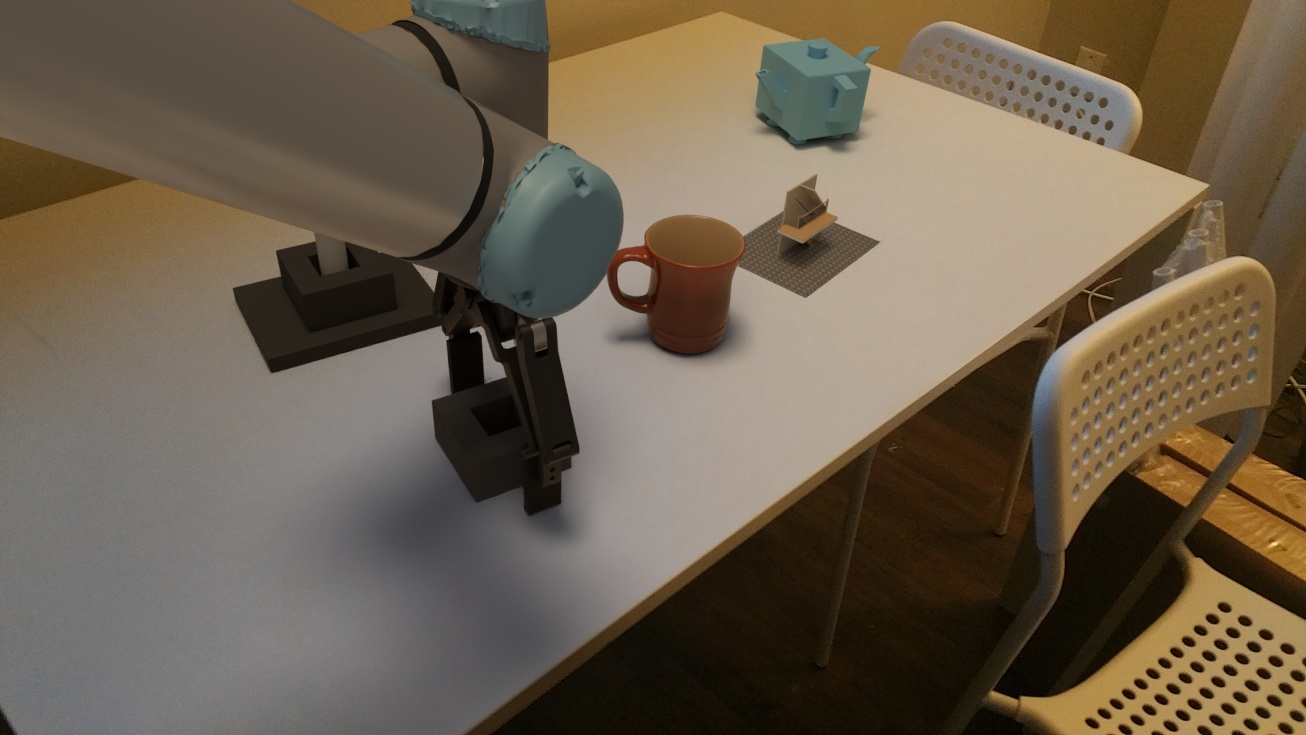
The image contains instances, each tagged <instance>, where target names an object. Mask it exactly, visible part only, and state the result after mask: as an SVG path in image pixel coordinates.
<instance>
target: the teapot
mask: <svg viewBox="0 0 1306 735" xmlns="http://www.w3.org/2000/svg"><path fill="white" fill-rule="evenodd" d="M880 49H881V46H878V45H872V46H871V45H870V46H867V47H864V48H862V49H861V51H859V53H857V54H856V56H855V57H854V56H852V55H851V54H849V53H848V52H846V51H845V50H844V49H841V48H840V47H838V46H837V45H835V44H834V43H832V42H831V41H829V40H828V39H826V38H824V37H822V38H814V39H805V40H804V39H803V40H795V41H786V42H778V43H770V44H769V43H768V44H764V45H763V46H762V54H761V60H760V69H759V71H756V72H755V77H756V79H757V80H758V83H757V90H756V97H755V104H754V105H755V107H756V109H757V110H759V111H760V112H761V113H762V114H764V115H765V116H766V117H767V118H768V119H767V121H766V124H767V125H768V126H771V127H780V128H781V129H783V131H785V132H786V133H787V134H789V137H788V142H789V143H791V144H794V145H804V144H806V143H807V140H811V139H817V138H823V137H826V138H830V139H833V140H835V139H837V140H839V139H840V138H842V137H843V134H849V133H855V132H859V131H860V124H861V120H862V115H863V111H864V106H865V101H866V96H867V91H868V86H869V82H870V76H871V72H872V69H871V68H870V67H869V66H868V65H867V62H868V61H869V59H871V57H872V55H873V54H876V52H878V51H879V50H880Z"/></svg>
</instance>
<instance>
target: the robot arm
mask: <svg viewBox="0 0 1306 735" xmlns="http://www.w3.org/2000/svg"><path fill="white" fill-rule="evenodd" d="M546 3H547V2H546V0H410V1H409V5H410V11H411V12H412V15H409V16H408V17H406V18H405V17H404V18H401V19H397V20H395V21H393V22H392V23H390V24H387V25H385V26H381V27H376V28H371V29H369V30H364V31H361V32H356V33H352V32H351V31H349V30H347V29H345V28H344V27H341V26H339V25H338V24H336V23H334V22H333V21H331V20H329V19H327V18H325V17H323V16H322V15H320V14H318V13H316V12H314V11H312V10H311V9H308V7H306V6H303V5H301V4H300V3H298V2H296V1H294V0H0V137H1V138H3V139H6V140H11V141H13V142H16V143H19V144H23V145H26V146H30V147H33V148H36V149H39V150H43V151H46V152H50V153H53V154H56V155H59V156H63V157H66V158H70V159H73V160H75V161H78V162H81V163H86V164H89V165H92V166H96V167H98V168H102V169H105V170H109V171H111V172H116V173H119V174H121V175H124V176H128V177H130V178H135V179H137V180H142V181H145V182H148V183H152V184H154V185H157V186H160V187H165V188H168V189H171V190H174V191H178V192H181V193H185V194H188V195H191V196H195V197H197V198H201V199H204V200H207V201H211V202H214V203H217V204H220V205H223V206H226V207H230V208H233V209H237V210H241V211H242V212H243V211H244V212H247V213H250V214H254V215H256V216H260V217H263V218H266V219H270V220H272V221H276V222H280V223H283V224H287V225H290V226H293V227H296V228H300V229H303V230H305V231H309V232H313V233H314V232H316V233H319V234H322V235H326V236H329V237H332V238H336V239H339V240H342V241H345V242H349V243H352V244H355V245H359V246H362V247H365V248H368V249H372V250H375V251H378V252H379V253H380V252H382V253H385V254H388V255H391V256H394V257H396V258H399V259H401V260H404V261H406V262H409V263H412V264H413V265H417V266H419V267H423V268H426V269H430V270H432V271H435V272H437V276H436V280H435V281H436V282H435V286H434V290H433V292H434V297H433V302H432V312H433V314H434V315H435V317H436V318H438V317H442V318H443V321H442V323H441V325H440V326H441V327H440V328H441V332H442V333H443V334H444V335H445V337H448V339H446V340H445V343H446V354H447V366H448V378H449V387H450V395H451V394H454V393H457V392H460V391H463V390H466V389H470V388H473V387H476V386H479V385H482V384H485V383H486V382H485V381H486V380H485V364H484V351H483V350H484V349H483V335H482V334H481V333H480V332H479V330H475V331H473V332H471V330H473V329H475V328H480V327H481V328H482V330H483V331H484V334H485V338H486V341H487V343H488V346H489V350H490V352H491V355H492V358H493V360H494V361H495V362H497V363H500V364H501V365H502V367H503V371H504V374H505V377H507V380H508V383H509V386H510V389H511V392H512V396H513V399H514V402H515V405H516V408H517V411H518V414H519V418H520V421H521V424H522V427H523V430H524V433H525V436H526V439H527V443H525V444H522V451H520V455H521V456H522V460H523V485H522V486H523V487H522V488H523V509H524V511H525V513H526V514H527V515H528V516H531V515H533V514H536V513H539V512H542V511H544V510H546V509H549V508H551V507H554V506H556V505H560V504H561V503H562V471H561V460H563V459H566V458H569V457H571V458H572V457H574V456H577V455H579V454H580V453H581V448H580V444H579V438H578V435H577V430H576V424H575V421H574V416H573V411H572V406H571V402H570V398H569V393H568V389H567V384H566V380H565V374H564V370H563V366H562V361H561V357H560V352H559V340H558V339H559V338H558V326H557V323H556V321H555V319H554V317H558V316H561V315H564V314H566V313H568V312H570V311H572V310H573V309H575V308H577V307H578V306H580V305H581V304H582V303H583V302H585V301H586V300H587V299H588V298H589V297H590V296H591V295H592V294H593V293H594V292H595V290H597V288H598V287H599V286H600V284H601V283H602V281H603V280H604V279H605V277H607V269H608V267H609V265H610V263H611V261H612V259H613V257H614V256H615V255H616V253H617V251H618V250H619V248H620V245H621V241H622V238H623V231H624V222H625V220H624V218H625V215H624V213H625V212H624V205H623V204H624V203H623V200H622V196H621V193H620V191H619V188H618V186H617V185H616V183H615V181H614V179H613V178H612V177H611V176H610V175H609V174H608V173H607V172H606V171H604V170H603V169H602V168H601V167H599V166H598V165H595V164H594V163H592V162H591V161H588V160H587V159H586V158H583V157H581V155H578V154H577V152H576V151H575V150H574V149H573V148H570V146H566V145H565V144H563V143H560V142H554V141H551V140H549V84H550V83H549V80H550V79H549V78H550V77H549V76H550V74H549V72H550V70H549V69H550V68H549V62H550V52H551V43H550V40H549V38H550V37H549V29H548V28H549V25H548V13H547V12H548V10H547V4H546ZM509 341H513V345H514V346H511V347H508V348H507V347H506V348H505V347H504V346H503V344H502V343H507V342H509Z"/></svg>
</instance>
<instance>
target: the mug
mask: <svg viewBox="0 0 1306 735" xmlns="http://www.w3.org/2000/svg"><path fill="white" fill-rule="evenodd" d="M743 236H744V235H743V234H742V233H741V232H740V231H739V229H737V228H736V227H734V226H732V225H731V224H729V223H728V222H725V221H723V220H720V219H717V218H715V217H711V216H706V215H700V214H699V215H698V214H680V215H679V214H678V215H673V216H667V217H664V218H662V219H660V220H659V219H658V220H657V221H656V222H654V223H653V224H651V225H650V226H649V227H648V229H646V230H645V232H644V235H643V238H644V239H643V240H644V243H643V244H642V245H636V246H630V247H624V248H620V249H618V251H617V253H616V255H615V256H614V257H613V259H612V261H611V263H610V265H609V267H608V269H607V274H606V282H607V287H608V289H609V292H610V294H611V296H612V298H613V299H614V300H615V301H616V303H618V305H619V306H621V307H623V308H625V309H627V310H630V311H632V312H635V313H638V314H643V315H646V323H647V327H648V333H649V335H650V337H651V338H652V340H653V341H654V342H655V343H656V344H657V345H659V346H660V347H662V348H665V349H666V350H668V351H671V352H674V353H678V354H684V355H692V354H699V353H703V352H707V351H709V350H711V349H714V348H715V347H717V345H719V344H720V343H721V341H722V340H723V337H724V334H725V332H726V331H727V327H728V324H729V319H730V307H731V299H732V287H733V278H734V276H735V272H736V270H737V268H738V264H739V262H740V260H741V258H742V256H743V254H744V251H745V247H746V244H745V240H744V237H743ZM629 262H636V263H641V264H643V265H644V266H646V267H649V268H650V276H649V284H648V289H647V292H646V293H645V294H643V295H630V294H628V293H625V292H624V291H623V290H622V289H621V287H620V286H619V278H618V276H619V275H618V272H619V268H620V266H621V265H623V264H624V263H629Z"/></svg>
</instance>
